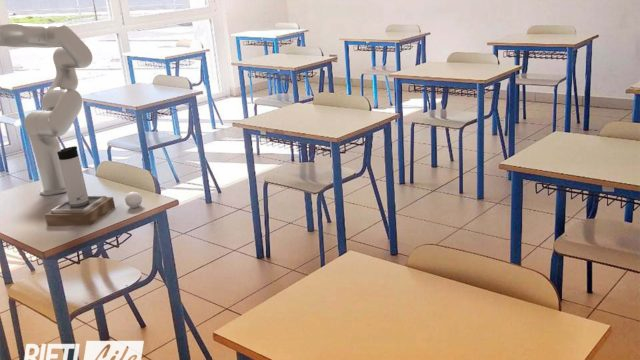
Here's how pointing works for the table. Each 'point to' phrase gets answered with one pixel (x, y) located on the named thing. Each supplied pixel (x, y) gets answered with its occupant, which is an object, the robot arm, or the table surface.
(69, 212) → the display stand
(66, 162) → the travel mug
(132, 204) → the white egg
